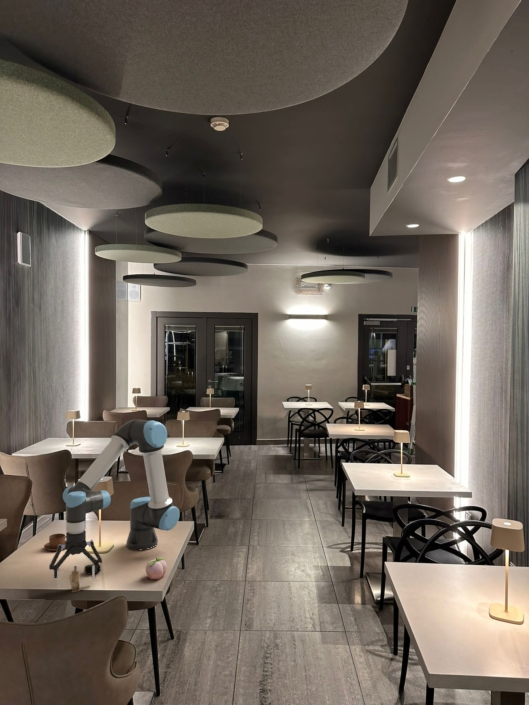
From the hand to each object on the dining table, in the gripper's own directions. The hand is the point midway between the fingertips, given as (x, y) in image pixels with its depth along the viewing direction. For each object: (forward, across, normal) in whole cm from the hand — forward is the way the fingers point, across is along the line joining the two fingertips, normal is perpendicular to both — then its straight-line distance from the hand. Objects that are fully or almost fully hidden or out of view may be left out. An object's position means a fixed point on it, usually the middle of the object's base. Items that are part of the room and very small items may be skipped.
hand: (75, 582), depth 222 cm
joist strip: (+3, 0, -6) cm, 7 cm away
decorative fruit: (+3, -32, +2) cm, 32 cm away
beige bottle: (+2, 0, 0) cm, 2 cm away
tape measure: (+3, -10, -12) cm, 16 cm away
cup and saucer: (+4, +6, -53) cm, 53 cm away
